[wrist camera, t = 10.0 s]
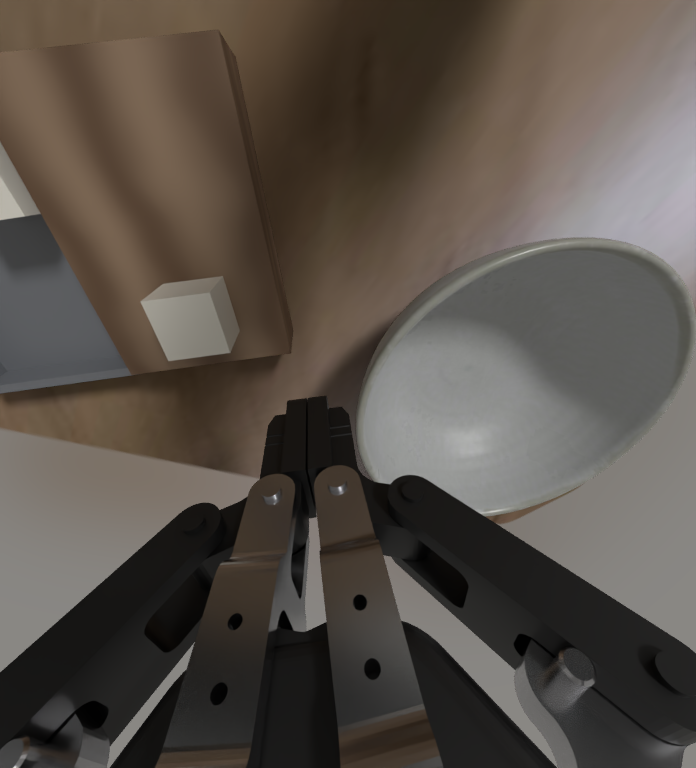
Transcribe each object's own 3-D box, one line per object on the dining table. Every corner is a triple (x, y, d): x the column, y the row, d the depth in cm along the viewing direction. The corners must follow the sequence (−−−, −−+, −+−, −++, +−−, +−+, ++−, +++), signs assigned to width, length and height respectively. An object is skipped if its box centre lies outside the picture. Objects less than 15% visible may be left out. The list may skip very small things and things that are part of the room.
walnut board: (235, 56, 22) (218, 29, 18) (293, 330, 33) (290, 353, 29) (22, 79, 21) (-48, 57, 17) (154, 349, 32) (131, 375, 28)
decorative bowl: (354, 451, 43) (368, 536, 33) (326, 235, 28) (336, 271, 18) (548, 422, 44) (619, 496, 34) (620, 197, 29) (785, 211, 19)
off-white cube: (222, 276, 24) (209, 292, 21) (239, 330, 27) (230, 352, 24) (163, 283, 24) (140, 301, 21) (185, 337, 27) (168, 361, 24)
